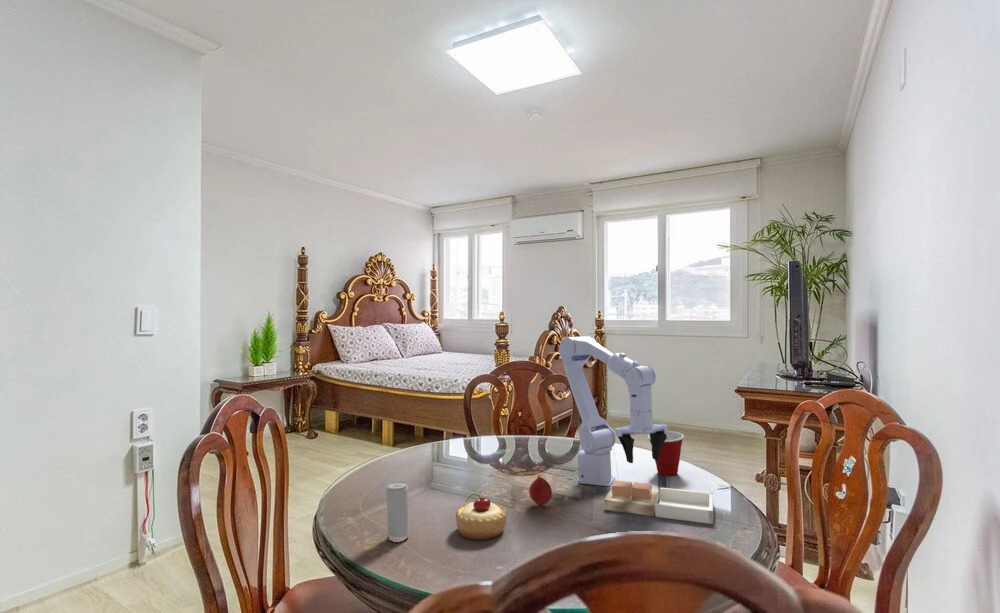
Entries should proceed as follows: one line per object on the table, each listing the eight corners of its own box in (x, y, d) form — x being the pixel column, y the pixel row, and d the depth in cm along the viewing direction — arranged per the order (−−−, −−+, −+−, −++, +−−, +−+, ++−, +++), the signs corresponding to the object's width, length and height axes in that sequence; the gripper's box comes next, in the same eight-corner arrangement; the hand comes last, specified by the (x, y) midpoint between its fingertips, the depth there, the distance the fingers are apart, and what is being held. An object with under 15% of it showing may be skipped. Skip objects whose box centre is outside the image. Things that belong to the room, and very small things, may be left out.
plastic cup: (641, 471, 153) (639, 432, 153) (669, 466, 157) (667, 429, 157) (664, 481, 143) (662, 440, 143) (693, 475, 147) (691, 436, 147)
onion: (554, 503, 128) (553, 472, 128) (549, 511, 123) (548, 479, 123) (533, 501, 130) (532, 471, 130) (527, 509, 125) (526, 477, 125)
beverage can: (389, 534, 112) (388, 482, 112) (410, 533, 112) (409, 481, 113) (386, 544, 107) (385, 489, 107) (408, 542, 107) (407, 488, 108)
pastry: (512, 541, 108) (511, 501, 108) (459, 547, 105) (459, 506, 105) (500, 518, 119) (500, 482, 120) (452, 523, 117) (452, 486, 117)
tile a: (612, 495, 126) (611, 485, 126) (615, 489, 130) (615, 480, 130) (629, 497, 124) (629, 487, 124) (632, 491, 128) (632, 482, 128)
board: (604, 509, 123) (604, 499, 123) (613, 493, 134) (613, 484, 134) (654, 516, 118) (653, 505, 118) (659, 499, 129) (658, 489, 129)
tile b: (631, 497, 124) (631, 487, 124) (634, 491, 128) (634, 482, 128) (650, 499, 122) (649, 489, 122) (652, 493, 126) (651, 484, 126)
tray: (655, 516, 117) (655, 504, 117) (660, 498, 129) (660, 487, 129) (713, 524, 112) (712, 511, 112) (713, 504, 124) (712, 492, 124)
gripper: (623, 414, 126) (625, 467, 126) (673, 411, 129) (675, 462, 129) (611, 410, 133) (613, 460, 132) (659, 406, 136) (661, 455, 136)
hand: (642, 460), depth 131 cm, fingers open, 7 cm apart
